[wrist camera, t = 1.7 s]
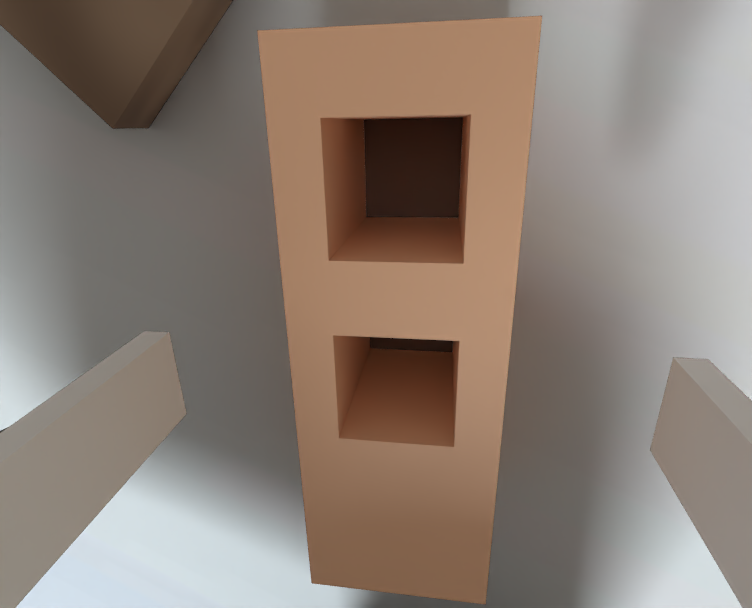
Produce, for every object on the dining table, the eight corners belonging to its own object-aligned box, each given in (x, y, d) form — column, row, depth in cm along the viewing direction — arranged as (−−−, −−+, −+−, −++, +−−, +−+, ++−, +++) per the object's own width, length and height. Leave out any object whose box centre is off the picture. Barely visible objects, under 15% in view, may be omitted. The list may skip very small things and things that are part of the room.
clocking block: (475, 477, 21) (485, 604, 15) (346, 466, 22) (311, 583, 16) (506, 55, 15) (541, 15, 9) (324, 63, 16) (257, 30, 10)
